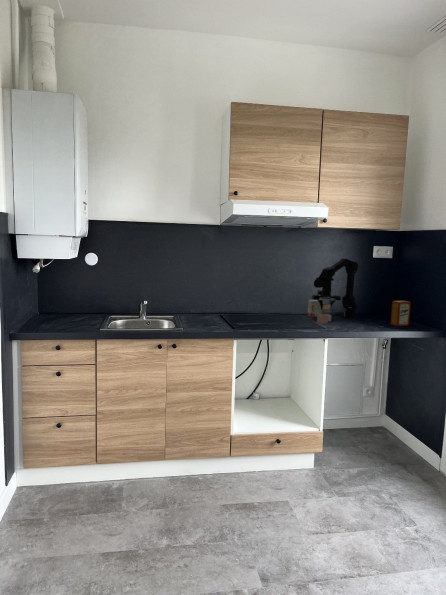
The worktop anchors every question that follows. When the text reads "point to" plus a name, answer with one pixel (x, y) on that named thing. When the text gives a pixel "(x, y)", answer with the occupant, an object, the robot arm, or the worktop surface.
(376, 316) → the worktop surface
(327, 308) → the maple cube
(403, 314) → the baking soda box
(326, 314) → the sage block
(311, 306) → the ink box
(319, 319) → the terracotta cube
